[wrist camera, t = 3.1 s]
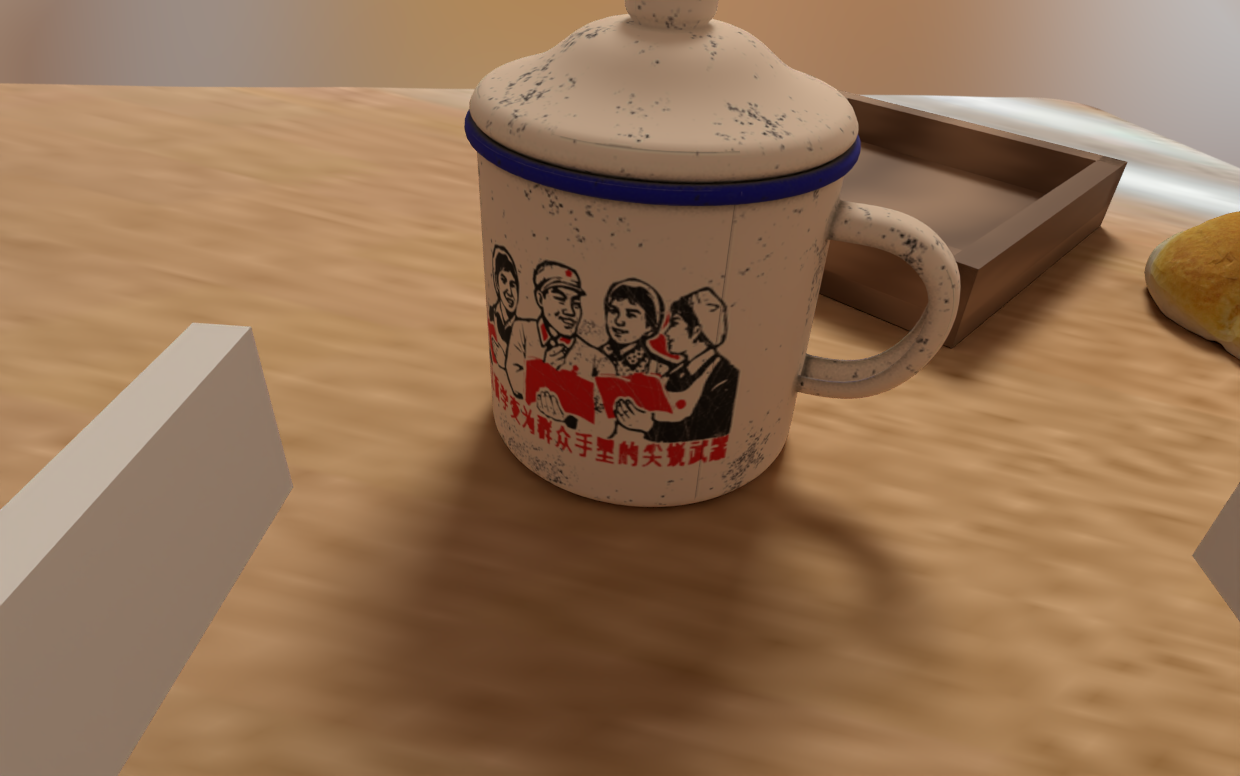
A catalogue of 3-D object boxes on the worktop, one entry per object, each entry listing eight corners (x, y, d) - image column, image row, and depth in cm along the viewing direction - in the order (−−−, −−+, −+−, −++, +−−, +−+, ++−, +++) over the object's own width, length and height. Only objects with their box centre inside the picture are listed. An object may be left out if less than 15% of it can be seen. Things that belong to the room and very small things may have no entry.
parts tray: (543, 178, 38) (542, 115, 37) (739, 118, 48) (745, 66, 46) (951, 348, 27) (978, 269, 25) (1100, 224, 37) (1127, 161, 35)
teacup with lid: (421, 459, 21) (356, -28, 14) (568, 309, 28) (571, -66, 21) (876, 609, 18) (1072, 59, 11) (915, 395, 25) (1048, -20, 18)
